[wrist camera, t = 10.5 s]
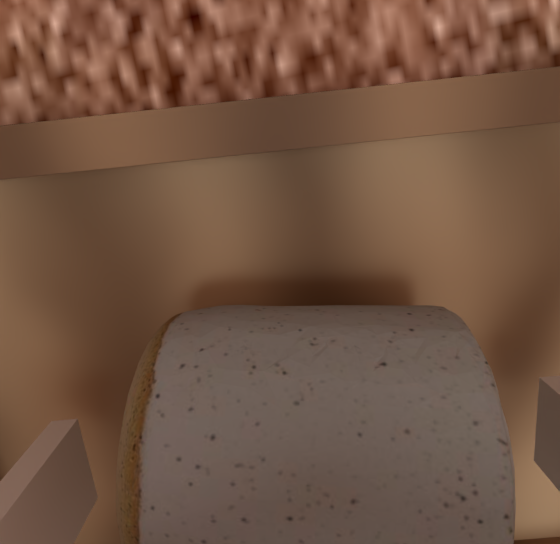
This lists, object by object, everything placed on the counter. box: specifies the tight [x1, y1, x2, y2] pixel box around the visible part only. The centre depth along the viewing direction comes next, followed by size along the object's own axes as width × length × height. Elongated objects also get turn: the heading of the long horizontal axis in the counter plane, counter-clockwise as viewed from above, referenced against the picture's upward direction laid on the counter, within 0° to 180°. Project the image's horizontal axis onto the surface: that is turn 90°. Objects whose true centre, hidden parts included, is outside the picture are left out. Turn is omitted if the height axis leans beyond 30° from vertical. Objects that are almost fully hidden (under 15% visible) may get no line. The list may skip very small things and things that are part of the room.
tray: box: [0, 66, 560, 544], centre depth 14 cm, size 26×18×4 cm
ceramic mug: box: [116, 305, 516, 544], centre depth 12 cm, size 11×8×8 cm
